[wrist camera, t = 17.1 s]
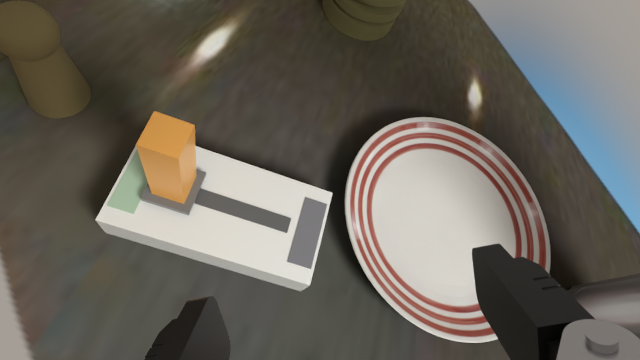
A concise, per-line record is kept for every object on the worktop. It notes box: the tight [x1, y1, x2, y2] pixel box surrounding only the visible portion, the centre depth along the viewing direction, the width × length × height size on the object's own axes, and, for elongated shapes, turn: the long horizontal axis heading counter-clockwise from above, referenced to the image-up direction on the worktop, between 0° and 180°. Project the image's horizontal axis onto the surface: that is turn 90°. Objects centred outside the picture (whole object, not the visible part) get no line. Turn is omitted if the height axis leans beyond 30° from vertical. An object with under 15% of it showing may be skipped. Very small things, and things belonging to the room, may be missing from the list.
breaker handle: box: [136, 111, 206, 215], centre depth 32 cm, size 4×4×10 cm
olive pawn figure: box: [0, 0, 91, 118], centre depth 37 cm, size 6×6×11 cm
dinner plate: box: [345, 117, 551, 343], centre depth 47 cm, size 28×27×3 cm
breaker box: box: [96, 146, 333, 291], centre depth 39 cm, size 20×10×4 cm, turn 76°
